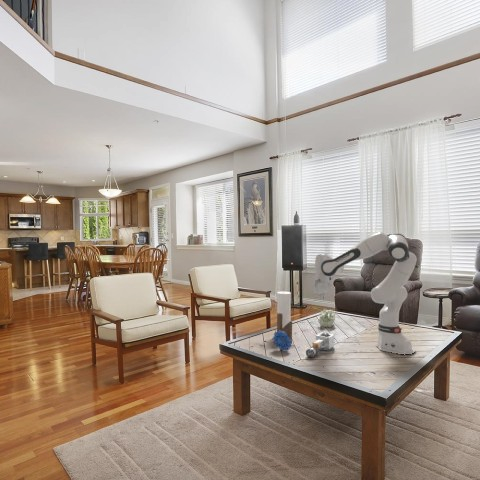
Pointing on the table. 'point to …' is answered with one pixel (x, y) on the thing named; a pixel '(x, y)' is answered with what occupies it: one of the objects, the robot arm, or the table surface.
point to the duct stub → (311, 352)
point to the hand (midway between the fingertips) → (321, 299)
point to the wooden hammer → (285, 329)
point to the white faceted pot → (323, 348)
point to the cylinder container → (284, 307)
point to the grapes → (282, 340)
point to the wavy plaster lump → (327, 318)
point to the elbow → (324, 341)
